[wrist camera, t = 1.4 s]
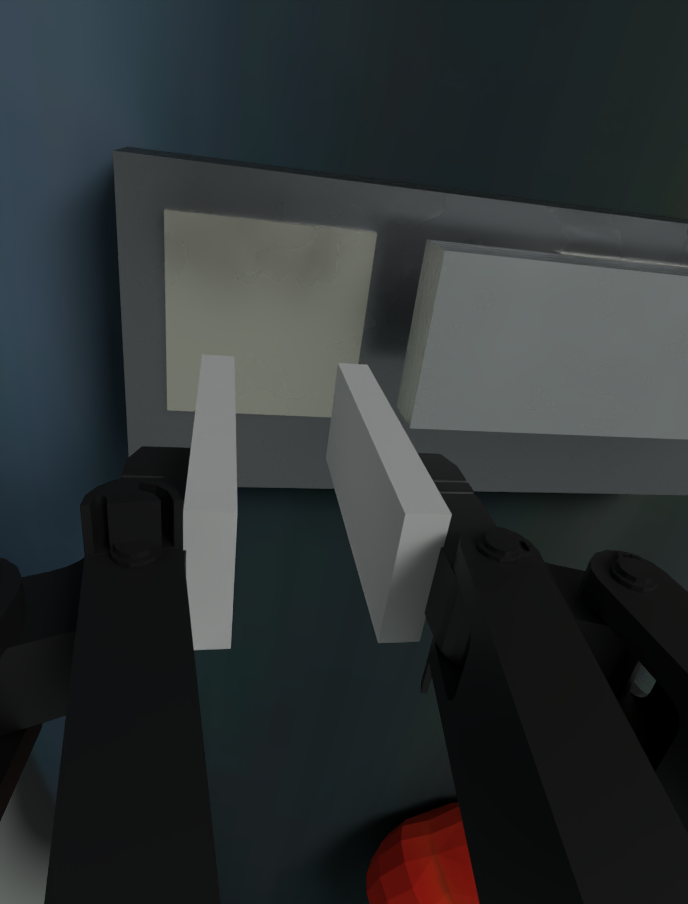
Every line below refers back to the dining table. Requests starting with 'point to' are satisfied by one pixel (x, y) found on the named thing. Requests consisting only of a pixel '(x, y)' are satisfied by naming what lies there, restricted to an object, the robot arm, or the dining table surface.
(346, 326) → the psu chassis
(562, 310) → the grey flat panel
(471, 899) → the tomato
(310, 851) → the dining table surface
